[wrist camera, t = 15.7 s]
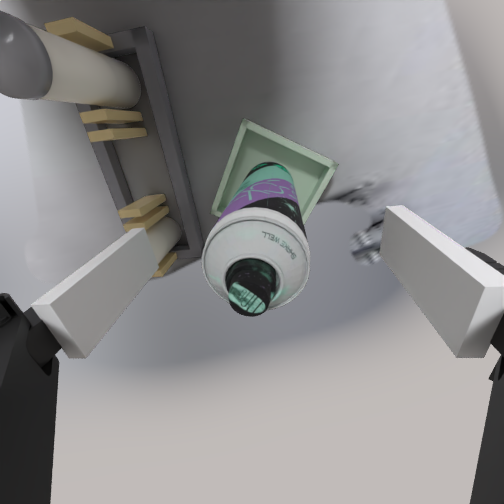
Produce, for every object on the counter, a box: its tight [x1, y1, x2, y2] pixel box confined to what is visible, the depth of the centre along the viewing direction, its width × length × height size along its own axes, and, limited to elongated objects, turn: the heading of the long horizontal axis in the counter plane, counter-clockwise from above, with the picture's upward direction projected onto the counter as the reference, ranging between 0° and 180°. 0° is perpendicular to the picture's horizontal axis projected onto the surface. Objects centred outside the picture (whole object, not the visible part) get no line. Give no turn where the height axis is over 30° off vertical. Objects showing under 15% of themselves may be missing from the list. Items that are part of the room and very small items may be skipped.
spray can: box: [202, 161, 310, 316], centre depth 18 cm, size 6×6×20 cm
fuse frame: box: [44, 17, 204, 277], centre depth 25 cm, size 23×9×6 cm, turn 7°
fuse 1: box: [0, 11, 141, 108], centre depth 19 cm, size 4×4×12 cm
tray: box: [210, 118, 339, 224], centre depth 27 cm, size 10×10×2 cm
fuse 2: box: [146, 216, 181, 264], centre depth 26 cm, size 4×4×12 cm
